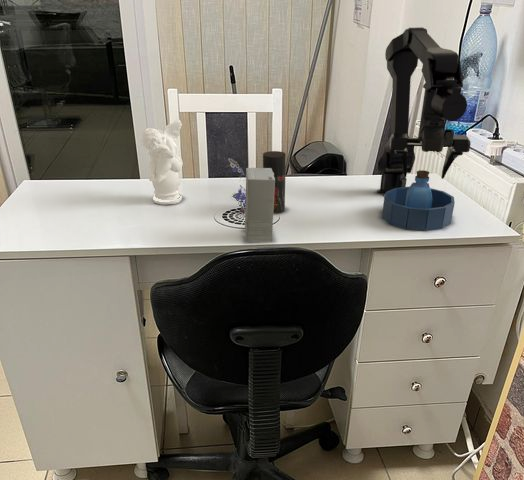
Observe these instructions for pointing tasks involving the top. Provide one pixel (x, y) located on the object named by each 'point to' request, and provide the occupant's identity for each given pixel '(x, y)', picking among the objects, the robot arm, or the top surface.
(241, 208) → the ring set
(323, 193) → the top surface
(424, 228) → the blue round bin
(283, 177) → the deodorant
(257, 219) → the cosmetic box
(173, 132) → the cherub figurine
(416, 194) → the perfume bottle
